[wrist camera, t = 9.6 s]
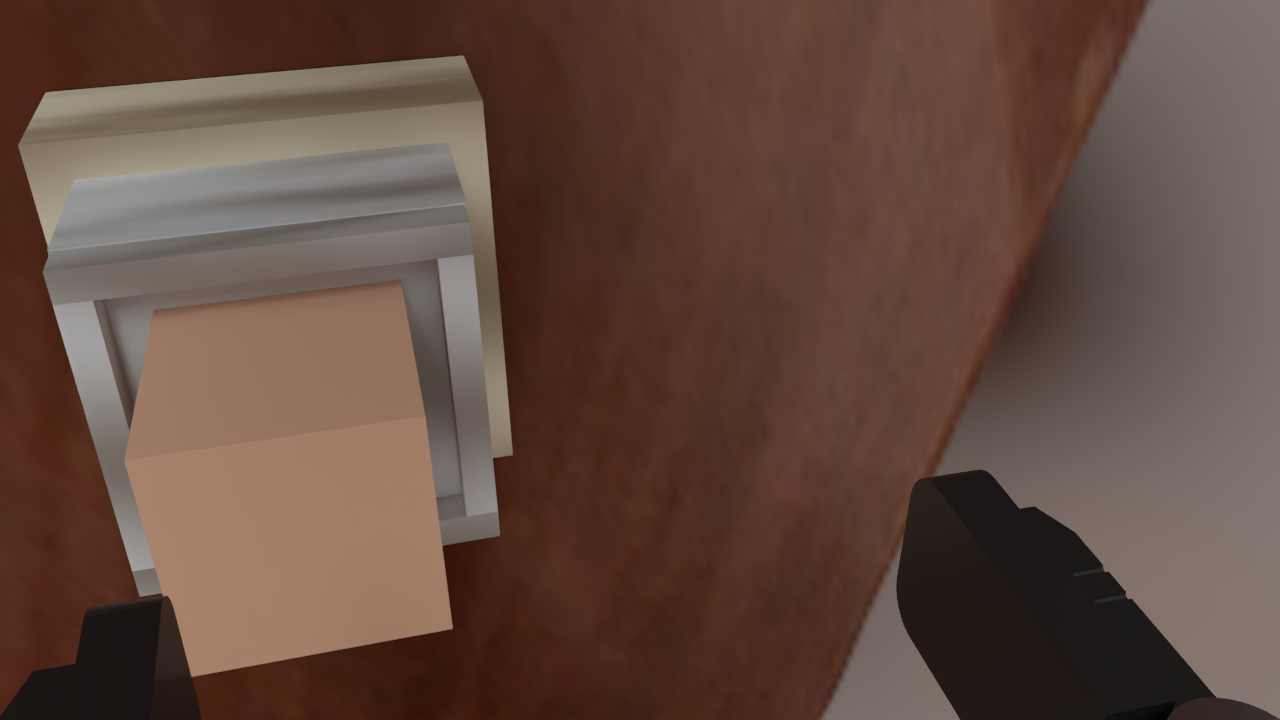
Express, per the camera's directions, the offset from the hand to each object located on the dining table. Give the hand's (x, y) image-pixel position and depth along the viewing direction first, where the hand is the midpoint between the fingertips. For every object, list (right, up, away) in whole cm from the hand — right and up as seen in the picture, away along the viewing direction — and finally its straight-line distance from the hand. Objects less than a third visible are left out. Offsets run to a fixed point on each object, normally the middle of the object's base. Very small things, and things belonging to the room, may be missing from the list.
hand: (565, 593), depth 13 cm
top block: (-7, +2, +16) cm, 18 cm away
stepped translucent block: (-9, +6, +23) cm, 25 cm away
